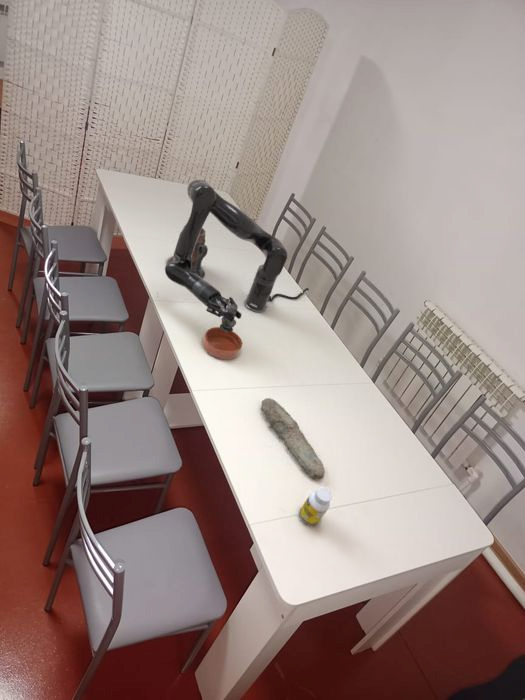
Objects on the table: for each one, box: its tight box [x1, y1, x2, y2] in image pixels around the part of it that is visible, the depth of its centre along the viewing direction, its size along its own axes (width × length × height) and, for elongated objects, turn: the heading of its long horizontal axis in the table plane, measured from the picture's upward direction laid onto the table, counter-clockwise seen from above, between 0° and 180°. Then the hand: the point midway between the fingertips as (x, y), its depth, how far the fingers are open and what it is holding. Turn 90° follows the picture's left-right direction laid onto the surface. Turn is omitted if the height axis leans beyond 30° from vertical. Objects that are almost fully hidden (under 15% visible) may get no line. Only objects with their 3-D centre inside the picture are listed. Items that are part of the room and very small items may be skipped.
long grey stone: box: [261, 397, 326, 480], centre depth 166 cm, size 35×5×10 cm
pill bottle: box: [299, 487, 333, 526], centre depth 142 cm, size 6×6×12 cm
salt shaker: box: [219, 302, 239, 332], centre depth 185 cm, size 6×6×12 cm
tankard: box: [166, 225, 208, 279], centre depth 224 cm, size 24×17×20 cm
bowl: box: [202, 326, 243, 360], centre depth 192 cm, size 15×15×4 cm
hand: (236, 318), depth 184 cm, fingers closed on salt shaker, 3 cm apart
